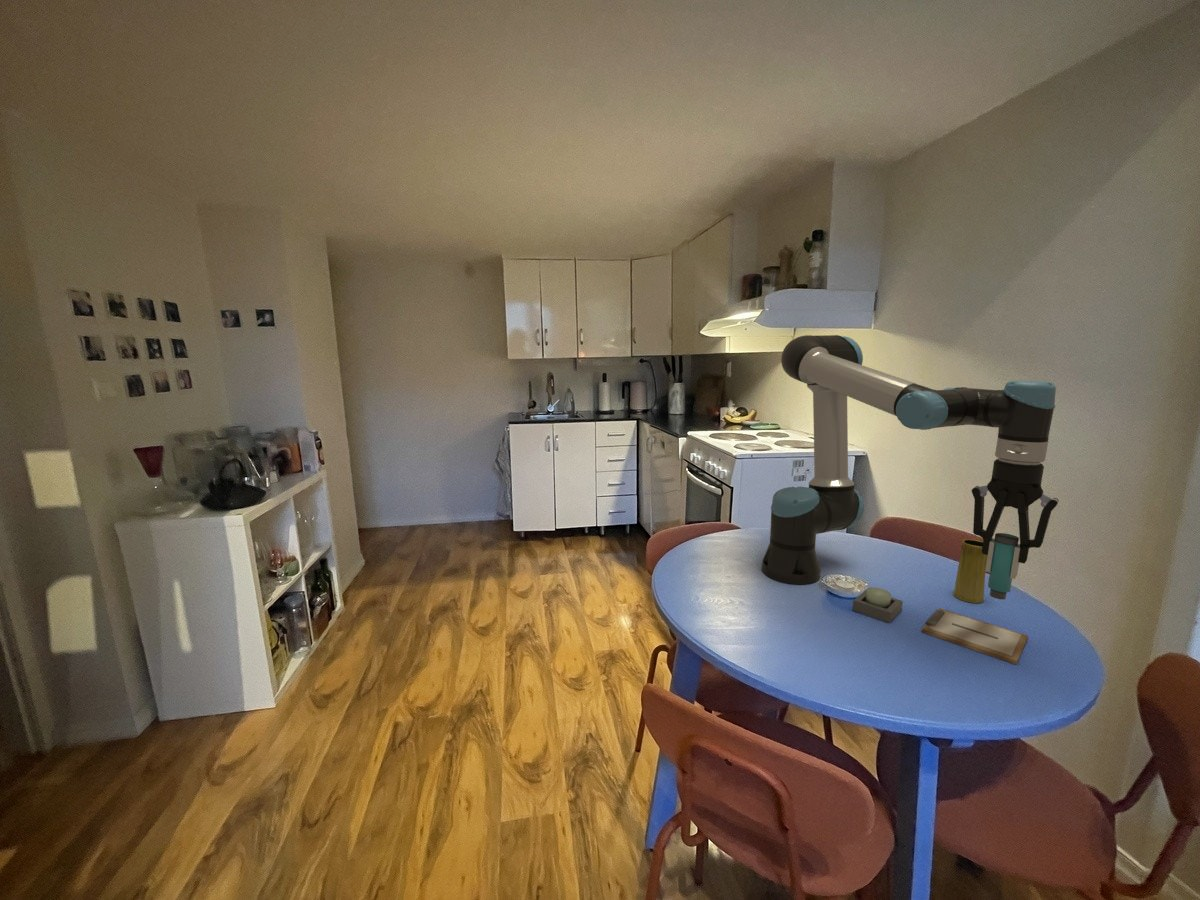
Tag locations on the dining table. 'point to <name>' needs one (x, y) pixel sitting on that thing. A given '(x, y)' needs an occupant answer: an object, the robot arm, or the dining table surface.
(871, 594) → the button
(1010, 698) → the dining table surface
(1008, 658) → the drawing board
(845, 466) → the robot arm
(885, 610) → the button frame
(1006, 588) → the marker
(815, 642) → the dining table surface
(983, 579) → the vase
